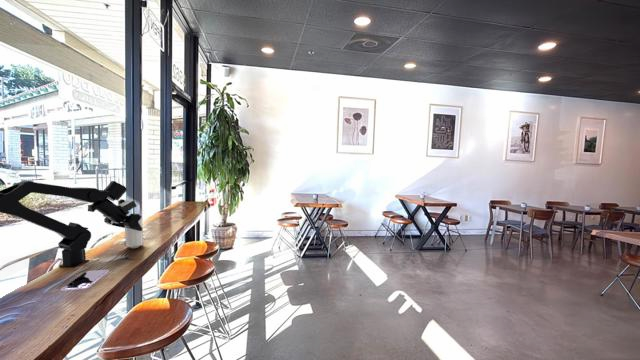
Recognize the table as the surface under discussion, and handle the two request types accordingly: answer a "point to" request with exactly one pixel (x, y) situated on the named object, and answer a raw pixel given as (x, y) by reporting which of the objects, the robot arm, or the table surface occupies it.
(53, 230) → the robot arm
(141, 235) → the white rounded tall piece
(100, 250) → the table surface
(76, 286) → the mobile phone
